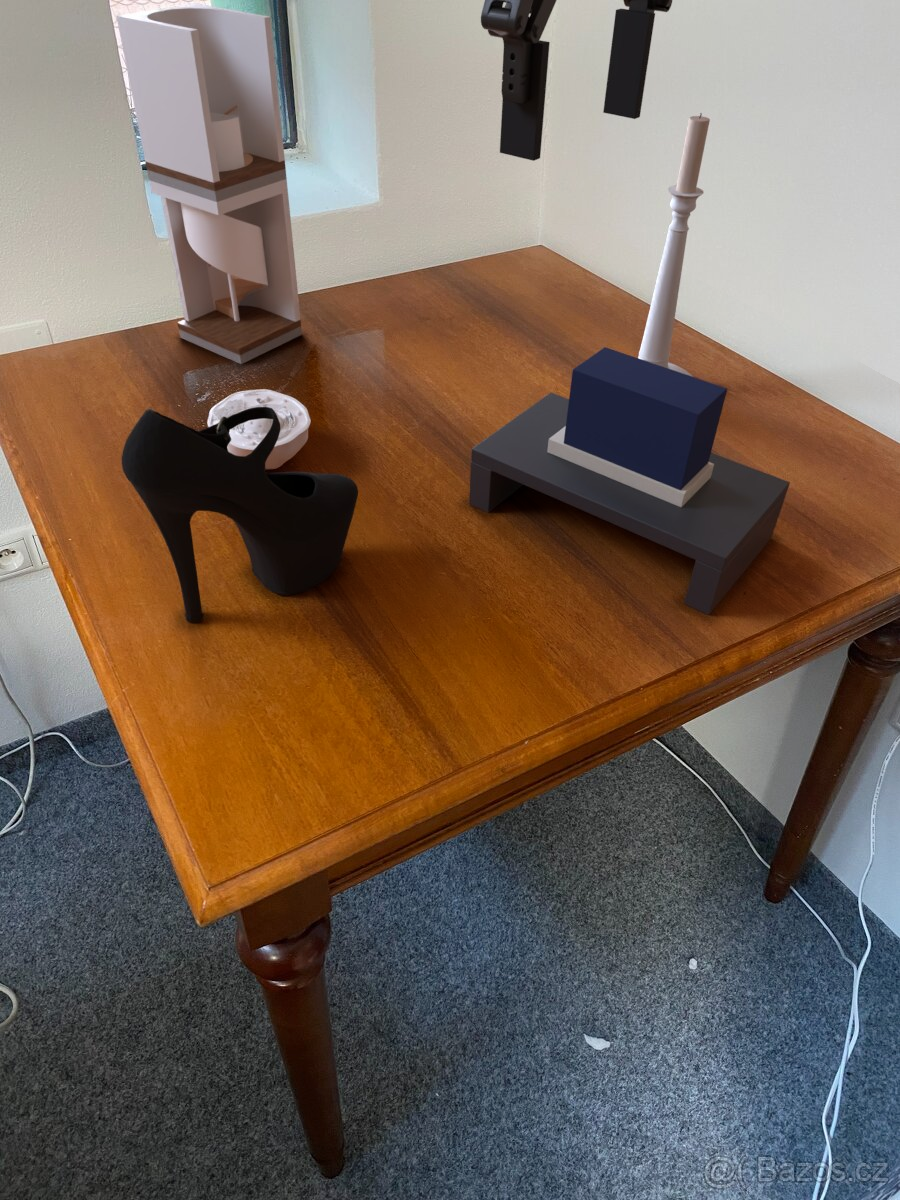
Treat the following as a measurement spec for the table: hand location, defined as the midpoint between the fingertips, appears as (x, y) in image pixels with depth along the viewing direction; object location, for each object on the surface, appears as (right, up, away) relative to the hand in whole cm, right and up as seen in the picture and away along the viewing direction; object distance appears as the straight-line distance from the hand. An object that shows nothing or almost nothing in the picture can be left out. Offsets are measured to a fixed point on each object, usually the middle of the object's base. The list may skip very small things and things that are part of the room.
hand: (573, 134), depth 62 cm
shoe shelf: (+8, -25, +24) cm, 36 cm away
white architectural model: (-36, +1, +52) cm, 63 cm away
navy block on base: (+8, -20, +20) cm, 29 cm away
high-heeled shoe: (-25, -31, +17) cm, 44 cm away
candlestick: (+15, -8, +44) cm, 47 cm away
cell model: (-29, -18, +31) cm, 46 cm away
